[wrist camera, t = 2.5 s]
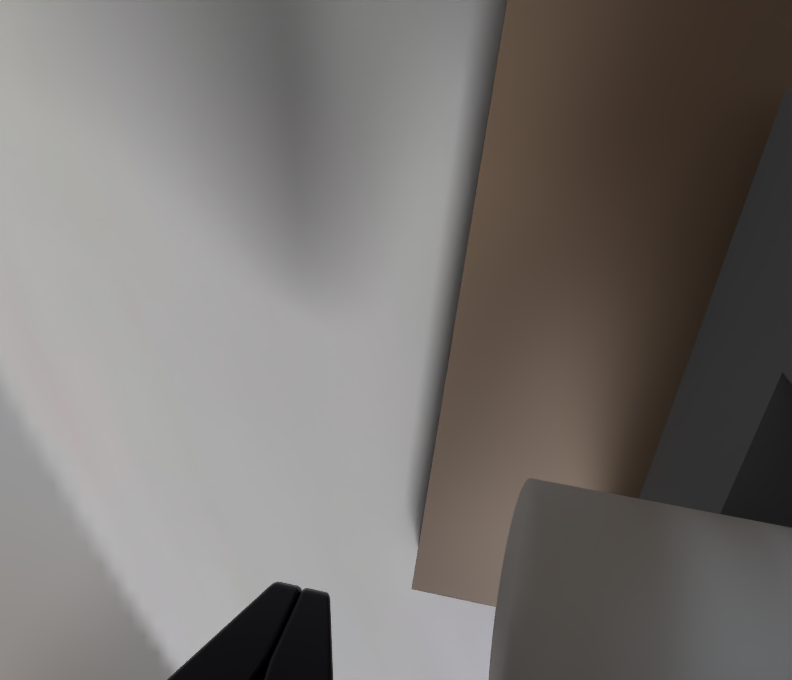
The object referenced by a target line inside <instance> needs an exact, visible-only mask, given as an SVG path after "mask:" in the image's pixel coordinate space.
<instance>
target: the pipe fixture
mask: <svg viewBox="0 0 792 680" xmlns="http://www.w3.org/2000/svg"><path fill="white" fill-rule="evenodd" d="M785 90H790V91H792V0H507V4H506V11H505V17H504V23H503V29H502V35H501V41H500V48H499V54H498V60H497V66H496V72H495V78H494V85H493V91H492V97H491V103H490V109H489V115H488V122H487V128H486V134H485V140H484V146H483V152H482V159H481V165H480V171H479V177H478V183H477V189H476V196H475V202H474V208H473V214H472V220H471V226H470V233H469V239H468V245H467V251H466V257H465V263H464V270H463V276H462V282H461V288H460V294H459V300H458V306H457V313H456V319H455V325H454V331H453V337H452V343H451V350H450V356H449V362H448V368H447V374H446V380H445V387H444V393H443V399H442V405H441V411H440V417H439V424H438V430H437V436H436V442H435V448H434V454H433V461H432V467H431V473H430V479H429V485H428V491H427V498H426V504H425V510H424V516H423V522H422V528H421V535H420V541H419V547H418V553H417V559H416V565H415V572H414V578H413V584H412V589H414V590H419V591H424V592H428V593H433V594H438V595H442V596H447V597H452V598H457V599H461V600H466V601H471V602H475V603H480V604H485V605H490V606H494V607H496V612H495V620H494V628H493V637H492V647H491V658H490V670H489V680H792V528H790V527H785V526H780V525H775V524H769V523H764V522H759V521H754V520H748V519H743V518H738V517H733V516H727V515H722V514H717V513H712V512H706V511H701V510H696V509H690V508H685V507H680V506H675V505H669V504H664V503H659V502H654V501H648V500H643V499H639V497H640V494H641V492H642V489H643V486H644V483H645V481H646V478H647V475H648V472H649V469H650V467H651V464H652V461H653V458H654V455H655V453H656V450H657V447H658V444H659V441H660V439H661V436H662V433H663V430H664V427H665V425H666V422H667V419H668V416H669V414H670V411H671V408H672V405H673V402H674V400H675V397H676V394H677V391H678V388H679V386H680V383H681V380H682V377H683V374H684V372H685V369H686V366H687V363H688V360H689V358H690V355H691V352H692V349H693V347H694V344H695V341H696V338H697V335H698V333H699V330H700V327H701V324H702V321H703V319H704V316H705V313H706V310H707V307H708V305H709V302H710V299H711V296H712V293H713V291H714V288H715V285H716V282H717V280H718V277H719V274H720V271H721V268H722V266H723V263H724V260H725V257H726V254H727V252H728V249H729V246H730V243H731V240H732V238H733V235H734V232H735V229H736V226H737V224H738V221H739V218H740V215H741V213H742V210H743V207H744V204H745V201H746V199H747V196H748V193H749V190H750V187H751V185H752V182H753V179H754V176H755V173H756V171H757V168H758V165H759V162H760V159H761V157H762V154H763V151H764V148H765V145H766V143H767V140H768V137H769V134H770V132H771V129H772V126H773V123H774V120H775V118H776V115H777V112H778V109H779V106H780V104H781V101H782V98H783V95H784V92H785Z"/></svg>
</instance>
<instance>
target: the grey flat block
mask: <svg viewBox="0 0 792 680" xmlns="http://www.w3.org/2000/svg"><path fill="white" fill-rule="evenodd" d="M639 499H643V500H648V501H654V502H659V503H664V504H669V505H675V506H680V507H685V508H690V509H696V510H701V511H706V512H712V513H717V514H722V515H727V516H733V517H738V518H743V519H748V520H754V521H759V522H764V523H769V524H775V525H780V526H785V527H790V528H792V91H790V90H785V92H784V95H783V98H782V101H781V104H780V106H779V109H778V112H777V115H776V118H775V120H774V123H773V126H772V129H771V132H770V134H769V137H768V140H767V143H766V145H765V148H764V151H763V154H762V157H761V159H760V162H759V165H758V168H757V171H756V173H755V176H754V179H753V182H752V185H751V187H750V190H749V193H748V196H747V199H746V201H745V204H744V207H743V210H742V213H741V215H740V218H739V221H738V224H737V226H736V229H735V232H734V235H733V238H732V240H731V243H730V246H729V249H728V252H727V254H726V257H725V260H724V263H723V266H722V268H721V271H720V274H719V277H718V280H717V282H716V285H715V288H714V291H713V293H712V296H711V299H710V302H709V305H708V307H707V310H706V313H705V316H704V319H703V321H702V324H701V327H700V330H699V333H698V335H697V338H696V341H695V344H694V347H693V349H692V352H691V355H690V358H689V360H688V363H687V366H686V369H685V372H684V374H683V377H682V380H681V383H680V386H679V388H678V391H677V394H676V397H675V400H674V402H673V405H672V408H671V411H670V414H669V416H668V419H667V422H666V425H665V427H664V430H663V433H662V436H661V439H660V441H659V444H658V447H657V450H656V453H655V455H654V458H653V461H652V464H651V467H650V469H649V472H648V475H647V478H646V481H645V483H644V486H643V489H642V492H641V494H640V497H639Z"/></svg>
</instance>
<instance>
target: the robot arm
mask: <svg viewBox="0 0 792 680" xmlns="http://www.w3.org/2000/svg"><path fill="white" fill-rule="evenodd" d="M167 680H333V663H332V637H331V612H330V596H329V594H328V593H326V592H323V591H318V590H314V589H309V588H305V589H303V590H301V588H300V587H299V586H296V585H291V584H287V583H282V582H276V583H273V584H272V585H271V586H269V587H268V588H267V589H266V590H265V591H264V592H263V593H262V594H261V595H260V596H258V597H257V598H256V599H255V600H254V601H253V602H252V603H251V604H250V605H249V606H247V607H246V608H245V609H244V610H243V611H242V612H241V613H240V614H239V615H238V616H236V617H235V618H234V619H233V620H232V621H231V622H230V623H229V624H228V625H227V626H225V627H224V628H223V629H222V630H221V631H220V632H219V633H218V634H217V635H216V636H215V637H213V638H212V639H211V640H210V641H209V642H208V643H207V644H206V645H205V646H204V647H202V648H201V649H200V650H199V651H198V652H197V653H196V654H195V655H194V656H193V657H191V658H190V659H189V660H188V661H187V662H186V663H185V664H184V665H183V666H182V667H180V668H179V669H178V670H177V671H176V672H175V673H174V674H173V675H172V676H171V677H170V678H168V679H167Z"/></svg>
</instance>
